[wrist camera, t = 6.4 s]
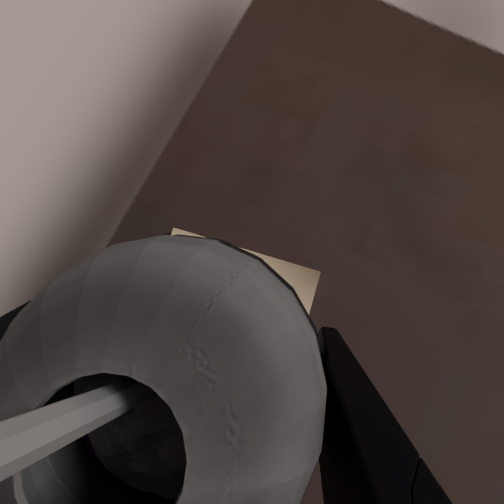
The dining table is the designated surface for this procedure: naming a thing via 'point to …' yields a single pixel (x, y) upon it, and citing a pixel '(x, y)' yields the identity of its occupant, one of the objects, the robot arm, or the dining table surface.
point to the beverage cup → (161, 381)
